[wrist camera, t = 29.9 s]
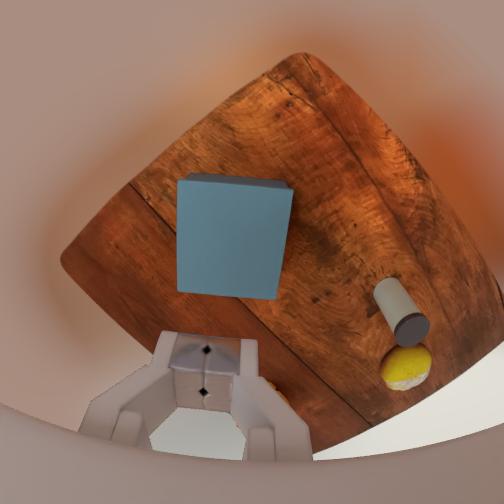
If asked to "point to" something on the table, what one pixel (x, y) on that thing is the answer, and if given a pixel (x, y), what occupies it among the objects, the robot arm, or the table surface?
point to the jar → (401, 312)
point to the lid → (231, 237)
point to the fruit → (405, 366)
